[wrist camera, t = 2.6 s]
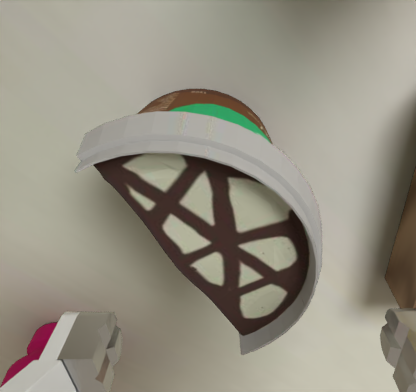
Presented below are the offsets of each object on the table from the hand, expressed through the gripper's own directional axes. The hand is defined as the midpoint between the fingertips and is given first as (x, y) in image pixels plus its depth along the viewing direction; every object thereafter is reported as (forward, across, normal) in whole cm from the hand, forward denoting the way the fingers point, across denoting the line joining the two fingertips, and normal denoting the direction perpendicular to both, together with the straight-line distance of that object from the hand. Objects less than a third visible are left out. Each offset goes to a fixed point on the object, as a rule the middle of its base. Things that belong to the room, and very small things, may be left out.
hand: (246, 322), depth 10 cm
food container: (+13, 0, -1) cm, 13 cm away
